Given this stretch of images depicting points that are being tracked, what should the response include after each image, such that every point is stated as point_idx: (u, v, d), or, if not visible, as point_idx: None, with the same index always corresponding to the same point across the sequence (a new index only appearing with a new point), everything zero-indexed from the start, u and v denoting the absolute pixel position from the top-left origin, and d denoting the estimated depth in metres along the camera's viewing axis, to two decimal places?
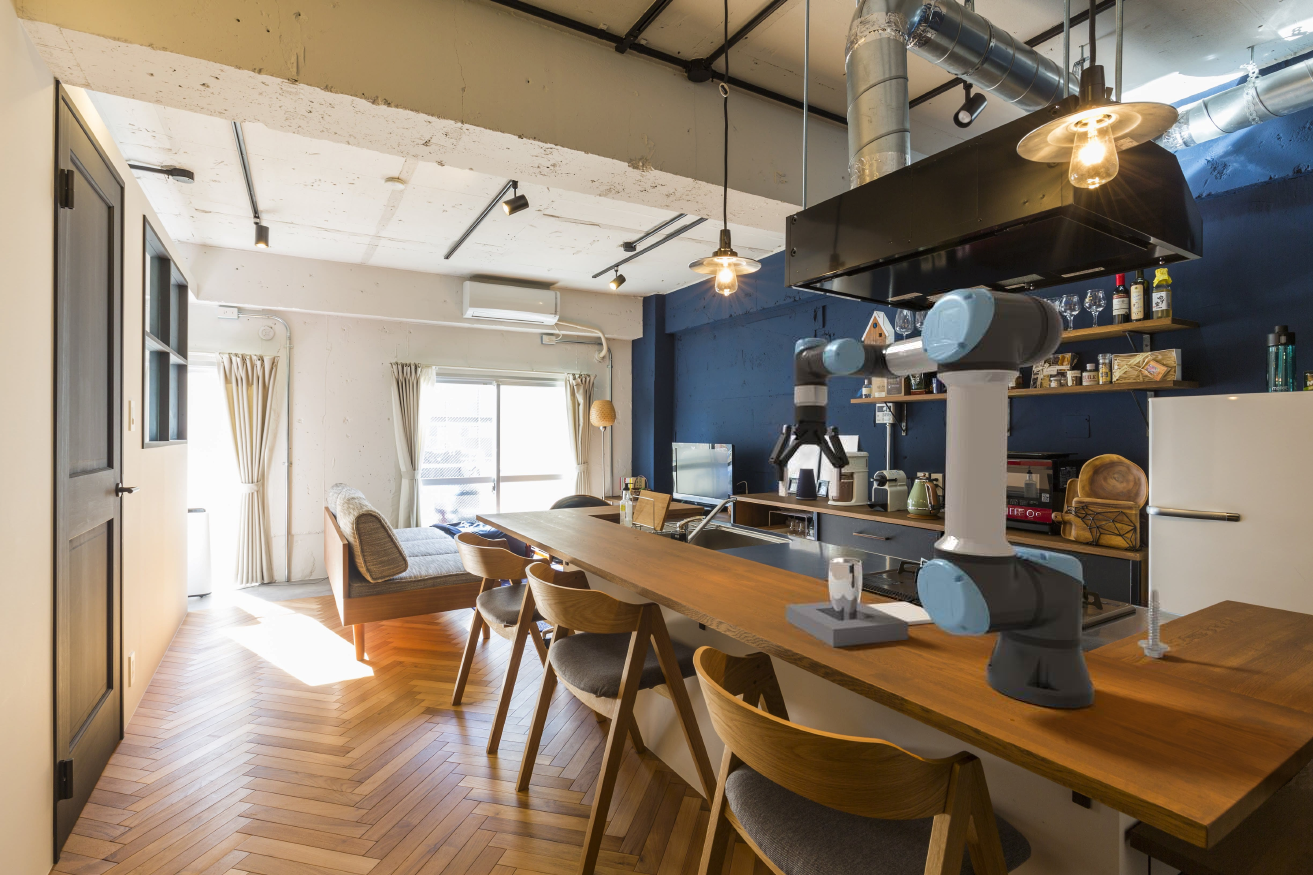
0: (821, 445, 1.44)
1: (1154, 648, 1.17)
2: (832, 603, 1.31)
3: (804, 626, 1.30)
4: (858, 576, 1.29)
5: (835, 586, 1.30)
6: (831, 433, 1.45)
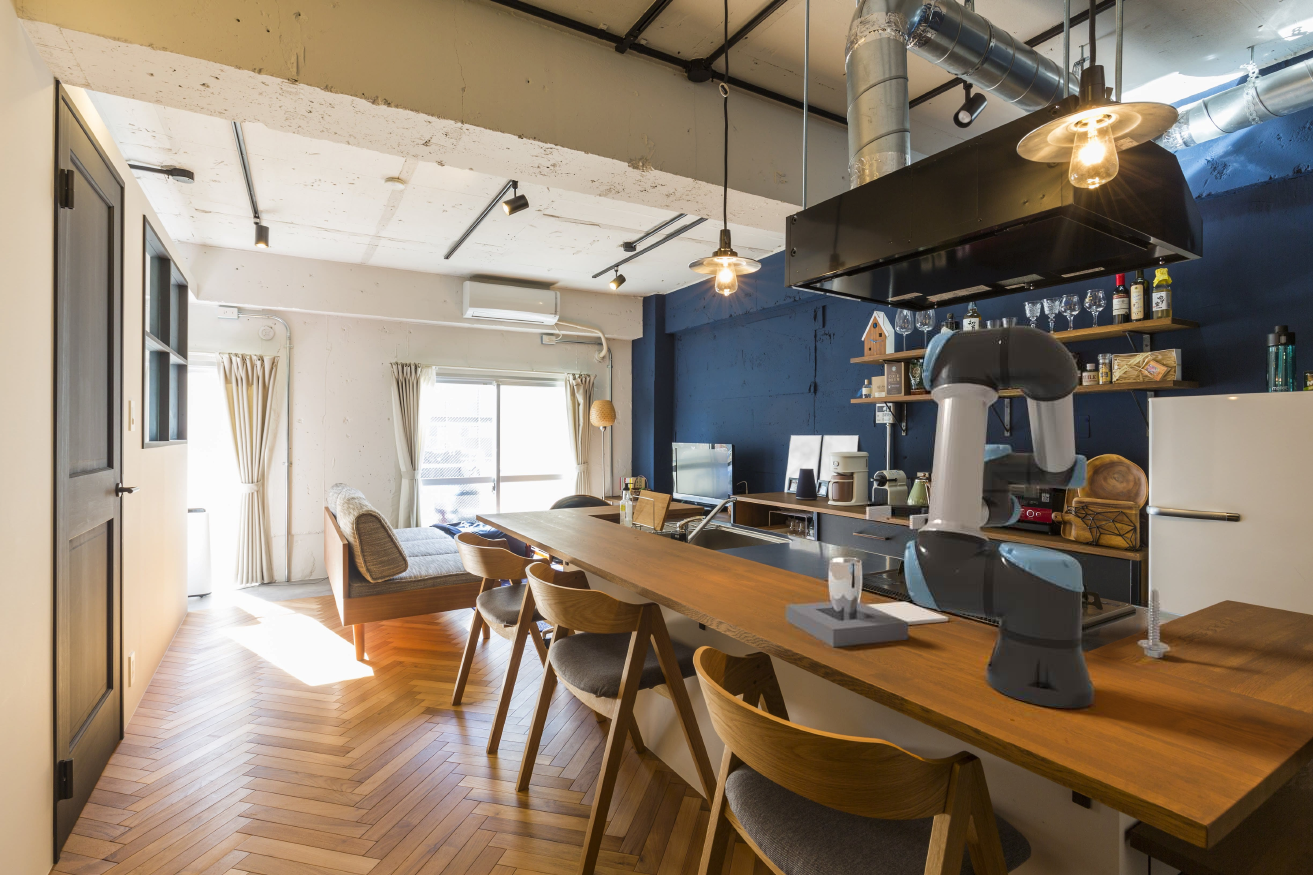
0: None
1: (1154, 648, 1.17)
2: (832, 603, 1.31)
3: (804, 626, 1.30)
4: (858, 576, 1.29)
5: (835, 586, 1.30)
6: None
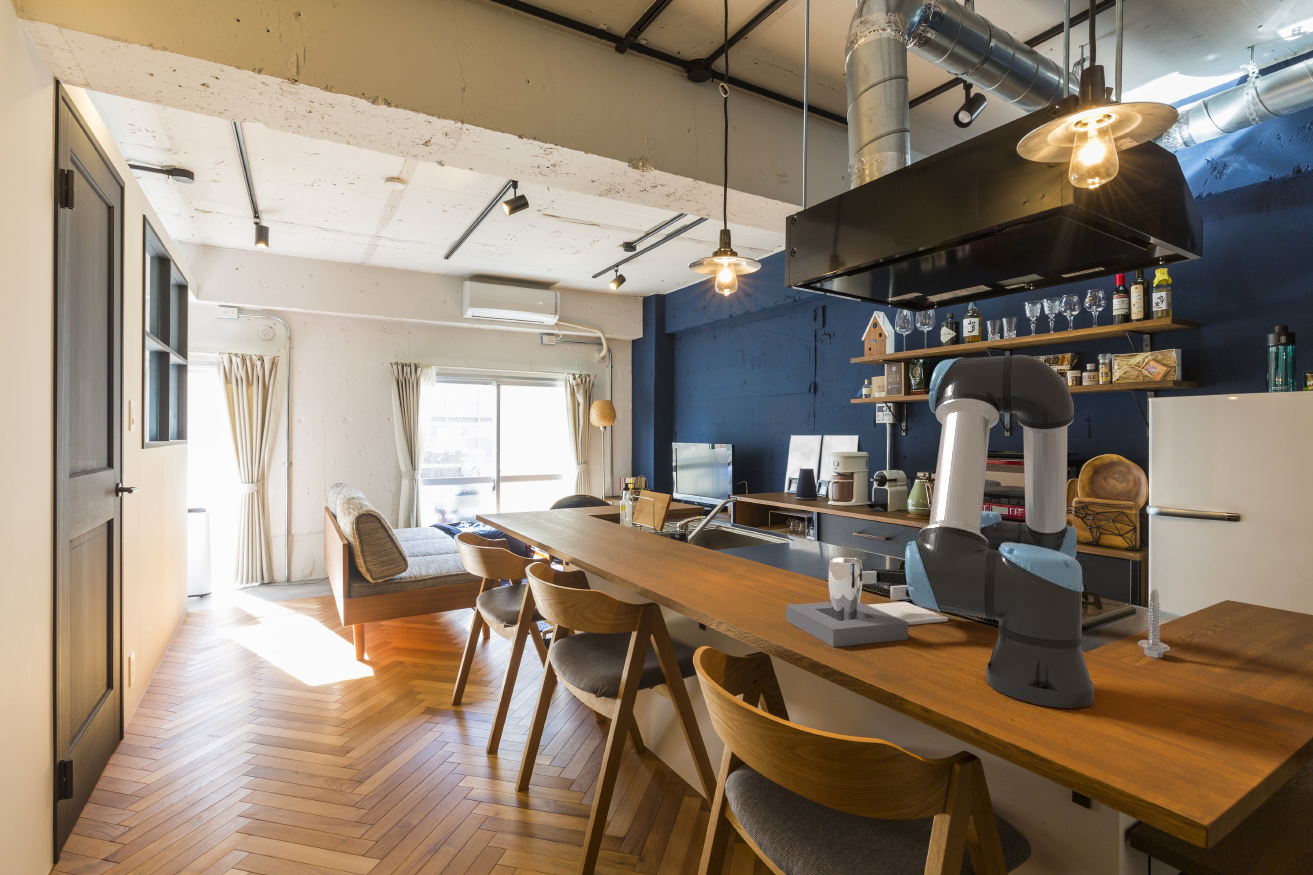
0: None
1: (1154, 648, 1.17)
2: (832, 603, 1.31)
3: (804, 626, 1.30)
4: (858, 576, 1.29)
5: (835, 586, 1.30)
6: None
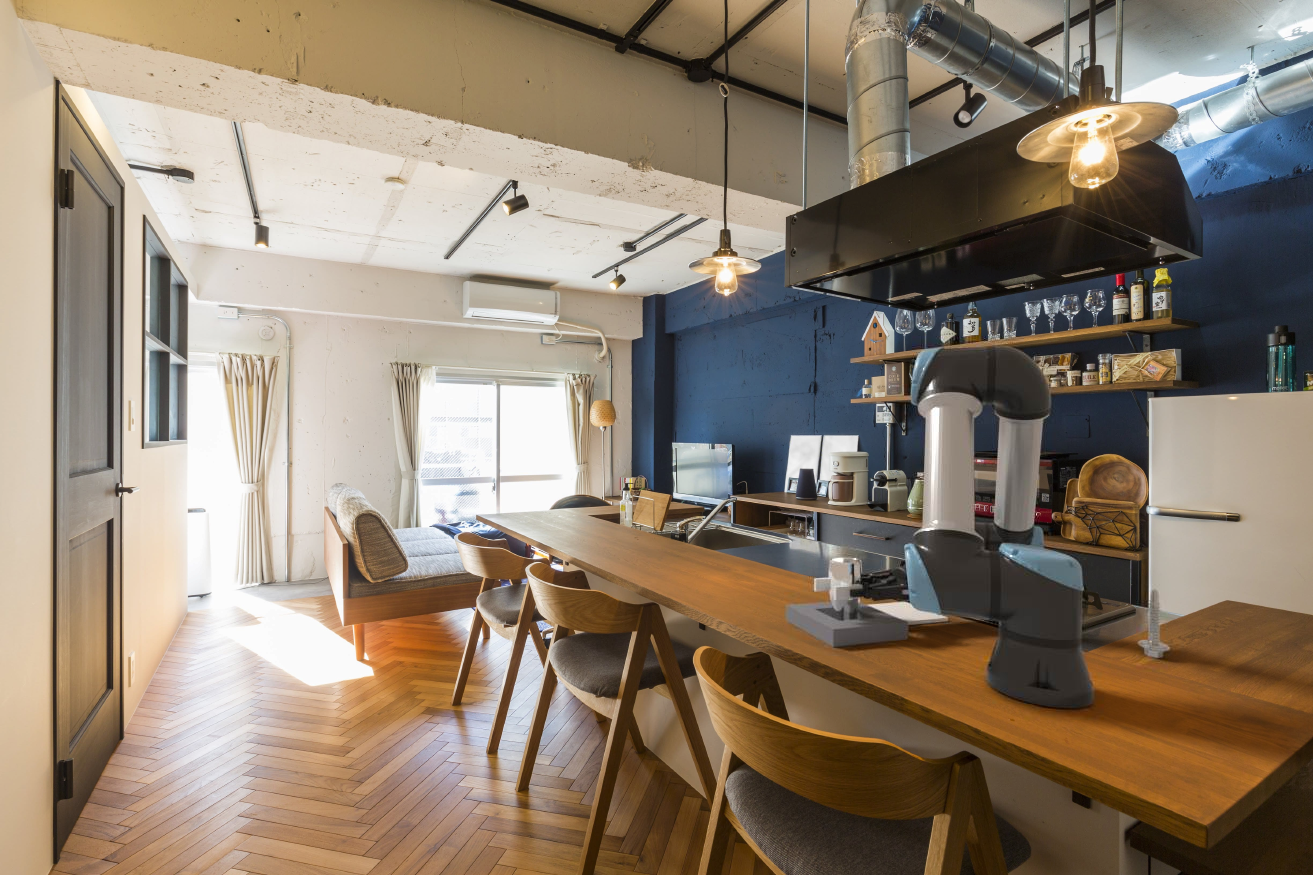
0: None
1: (1154, 648, 1.17)
2: (832, 603, 1.31)
3: (804, 626, 1.30)
4: (858, 576, 1.29)
5: None
6: None
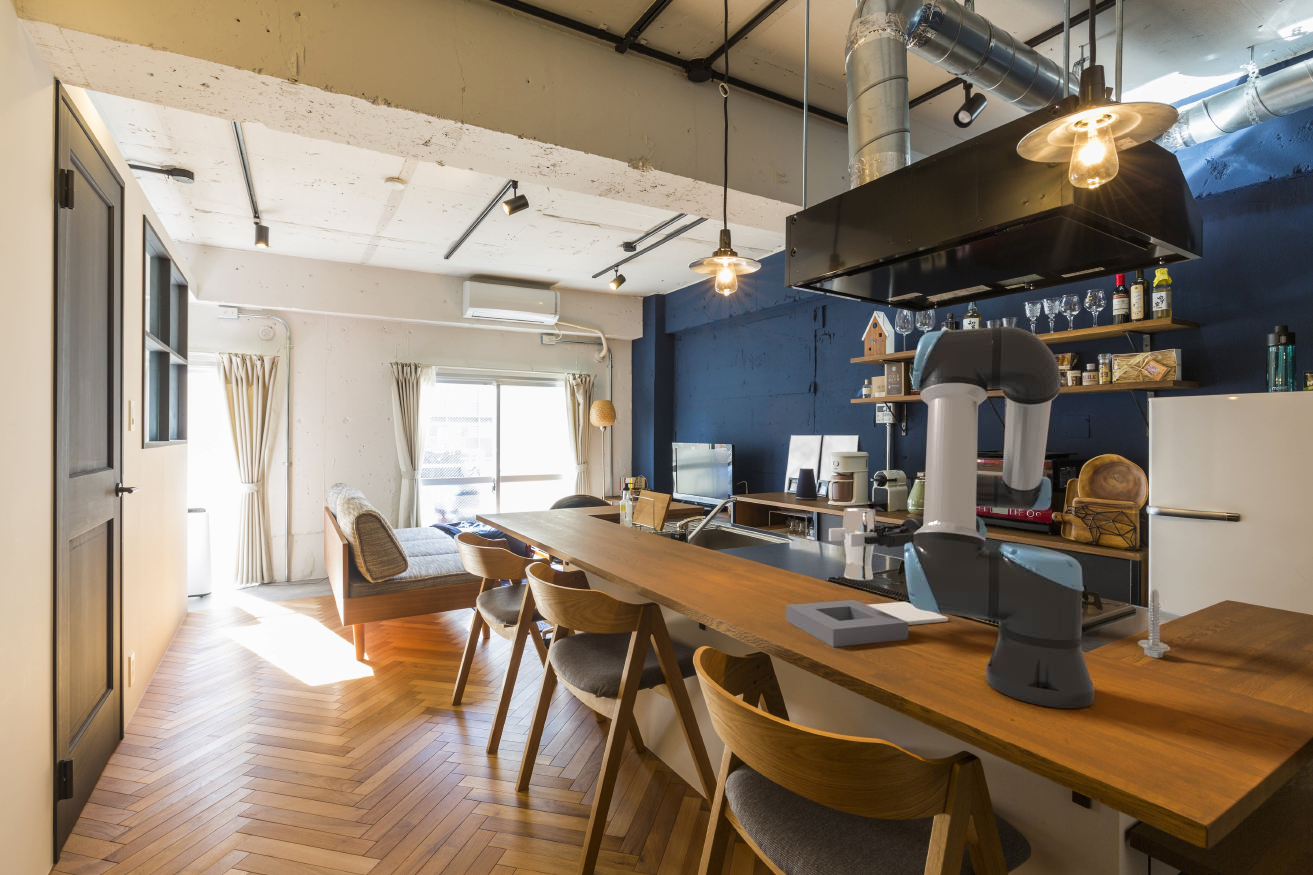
0: None
1: (1154, 648, 1.17)
2: (847, 551, 1.35)
3: (804, 626, 1.30)
4: (872, 524, 1.33)
5: None
6: None
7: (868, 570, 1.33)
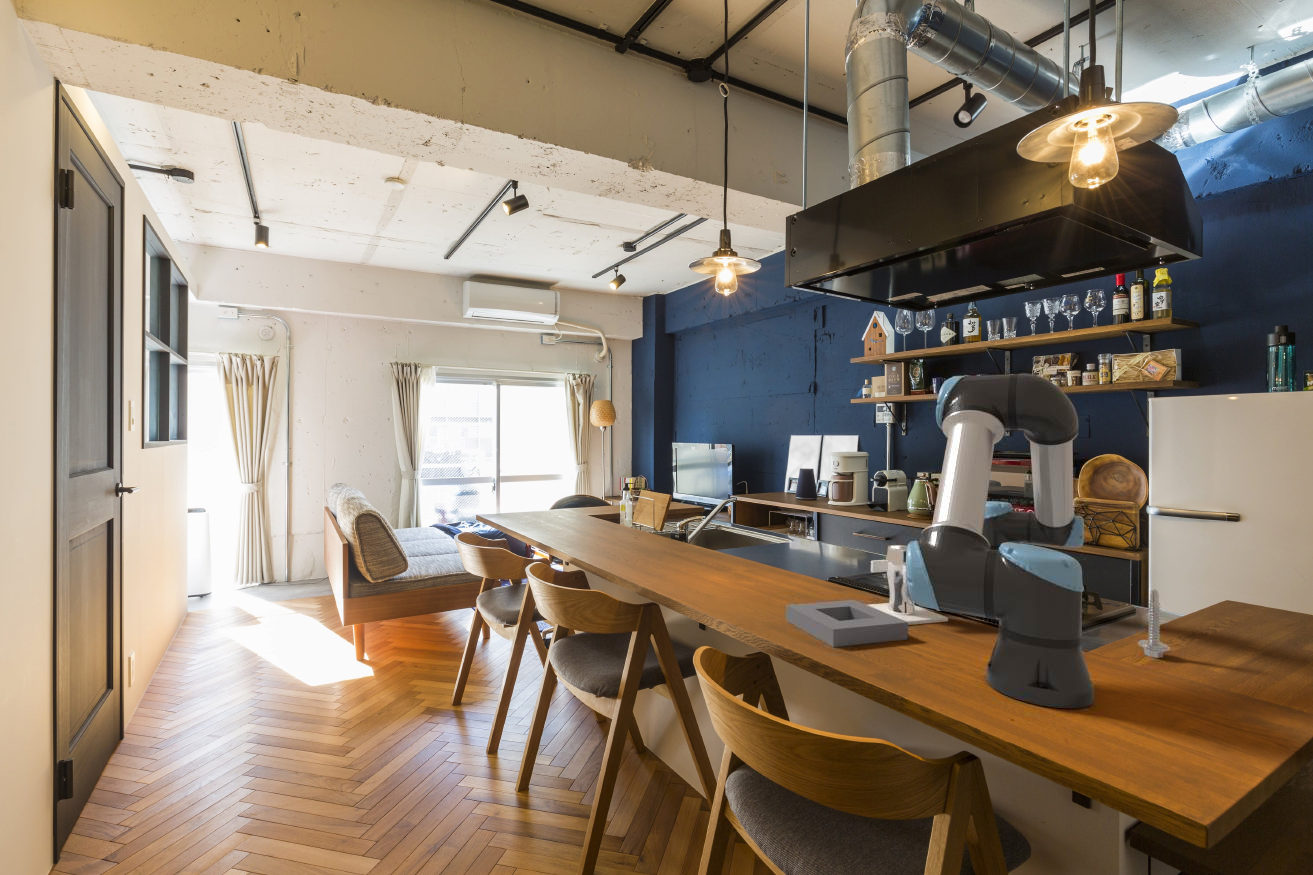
0: None
1: (1154, 648, 1.17)
2: (890, 587, 1.43)
3: (804, 626, 1.30)
4: None
5: (894, 571, 1.42)
6: None
7: (911, 605, 1.41)
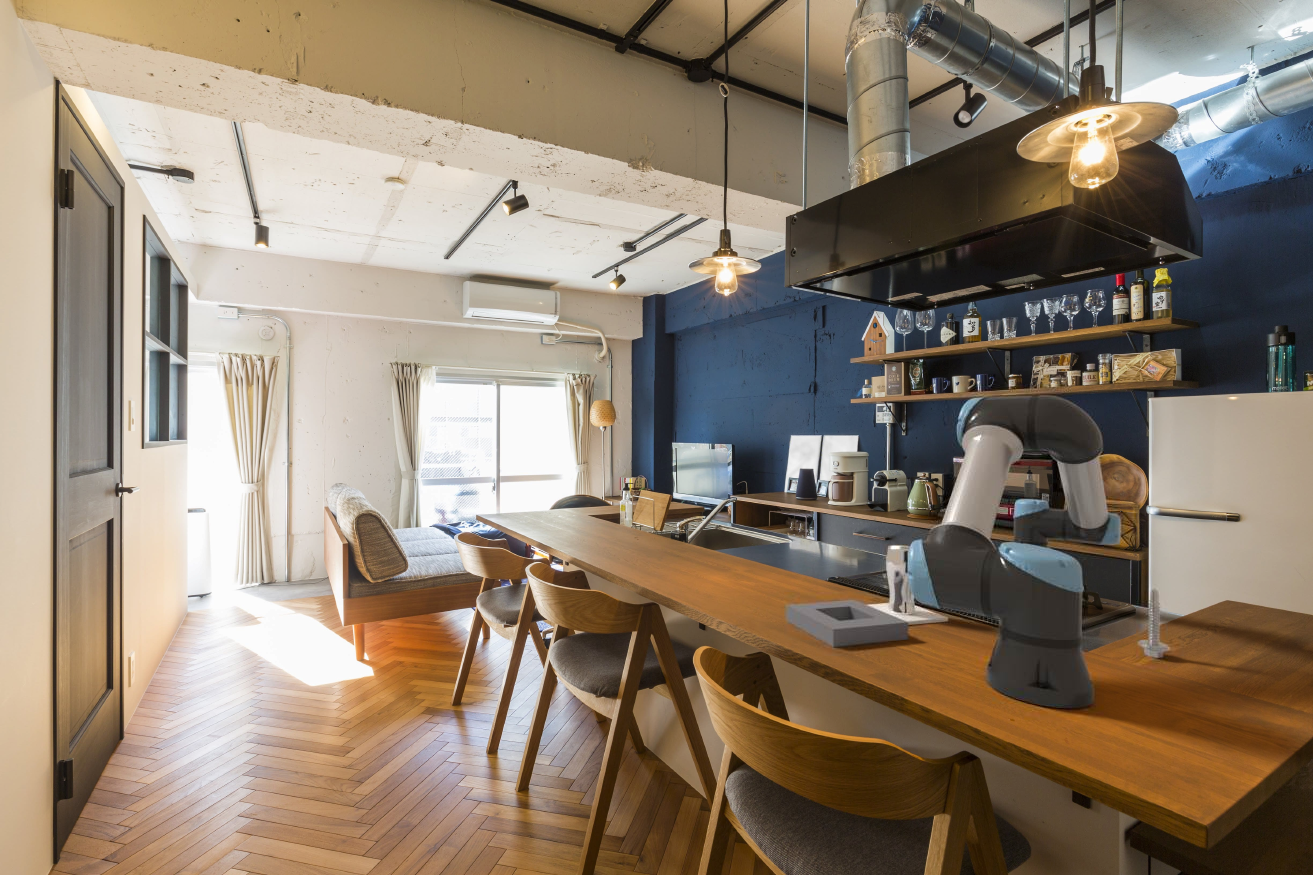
0: None
1: (1154, 648, 1.17)
2: (890, 587, 1.43)
3: (804, 626, 1.30)
4: None
5: (894, 571, 1.42)
6: None
7: (911, 605, 1.41)
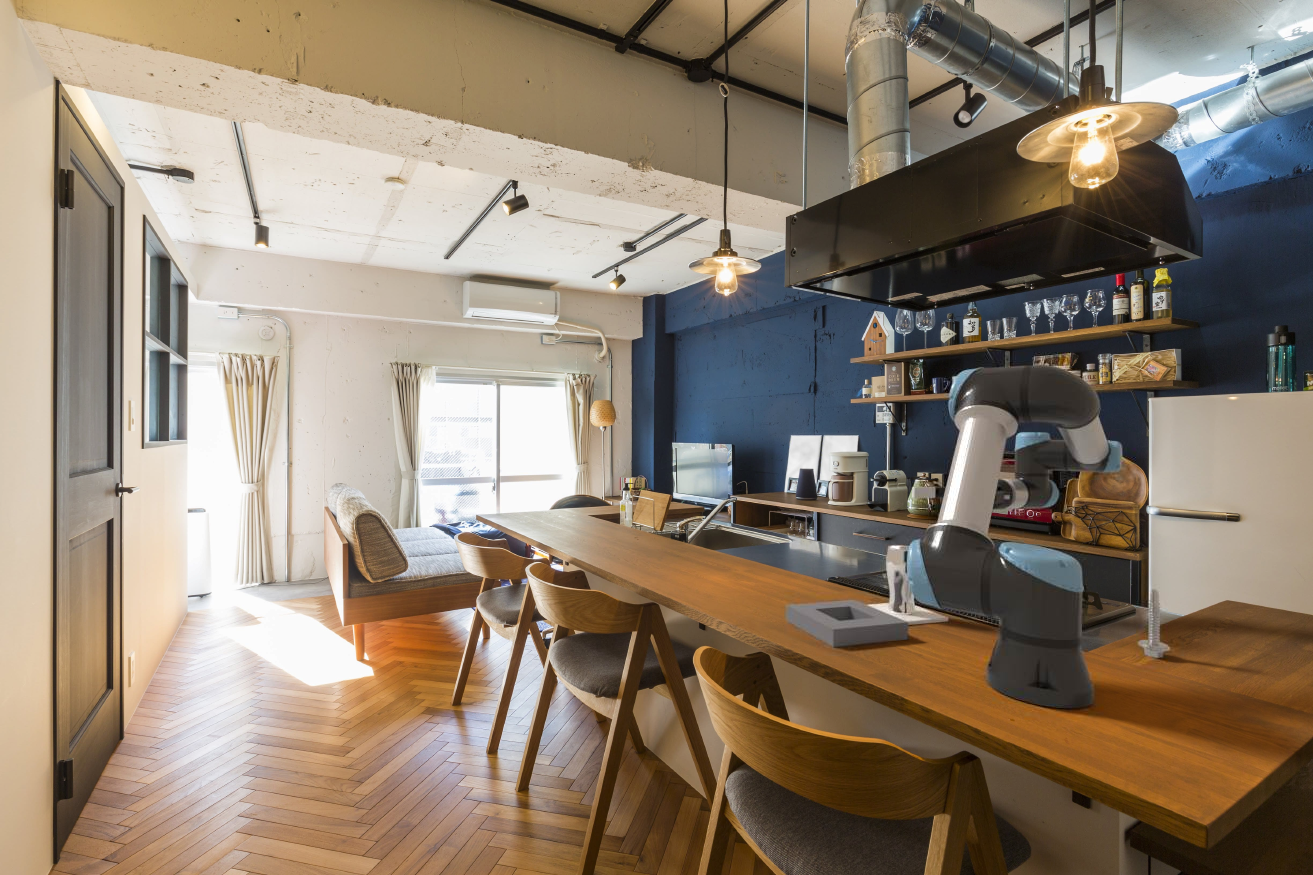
0: None
1: (1154, 648, 1.17)
2: (890, 587, 1.43)
3: (804, 626, 1.30)
4: None
5: (894, 571, 1.42)
6: None
7: (911, 605, 1.41)
